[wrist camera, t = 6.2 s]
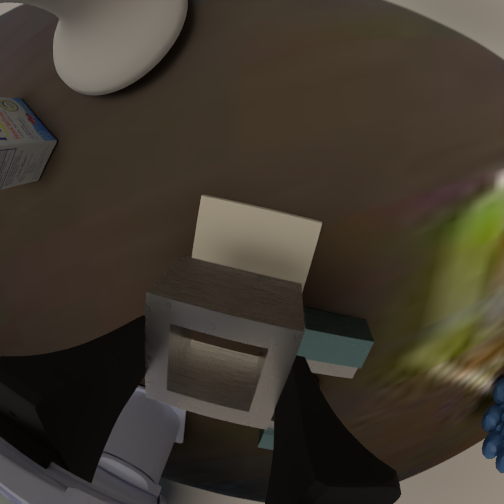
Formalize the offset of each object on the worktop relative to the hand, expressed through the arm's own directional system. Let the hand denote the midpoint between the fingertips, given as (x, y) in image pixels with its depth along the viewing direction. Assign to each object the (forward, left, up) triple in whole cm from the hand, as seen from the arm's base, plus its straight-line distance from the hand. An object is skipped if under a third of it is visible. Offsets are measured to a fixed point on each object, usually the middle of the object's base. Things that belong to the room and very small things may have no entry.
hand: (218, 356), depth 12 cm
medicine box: (-22, +7, -10) cm, 25 cm away
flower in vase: (-13, +17, -10) cm, 24 cm away
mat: (0, 0, -10) cm, 10 cm away
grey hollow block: (0, 0, -3) cm, 3 cm away
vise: (+7, -9, -10) cm, 15 cm away
